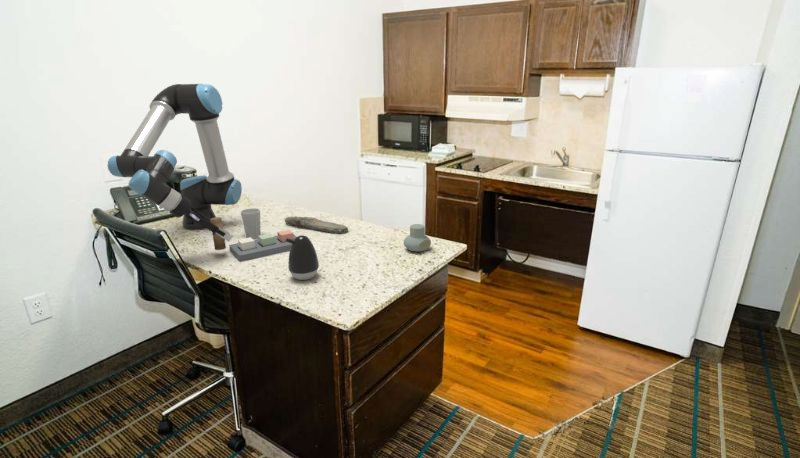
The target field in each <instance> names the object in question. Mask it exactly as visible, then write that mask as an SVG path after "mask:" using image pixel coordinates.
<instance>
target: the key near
mask: <svg viewBox="0 0 800 458" xmlns="http://www.w3.org/2000/svg"><path fill="white" fill-rule="evenodd" d="M254 240H255V239H254ZM254 240H253V239H252V238H251V237H250V238H246V237H245V238H240V239H237V243H238V245H239V248H240V249H241V250H242V251H243V250H248V249H253V248H255V241H254Z"/></svg>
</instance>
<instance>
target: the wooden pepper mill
mask: <svg viewBox="0 0 800 458" xmlns="http://www.w3.org/2000/svg"><path fill="white" fill-rule="evenodd" d="M210 221H211V223H213V224H214V225H216V226H217V227H220V228H221V229H224V226H223V219H222V217H220V216H219V217H218V216H216V217H215V218H211V219H210ZM211 233H212V240H213V246H214V247H213V248H214V250H215V251H223V250H225V249H226V240H225V239H223V238H222V237H220V236H218V235H217V234H214V235H213V232H211Z"/></svg>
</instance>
